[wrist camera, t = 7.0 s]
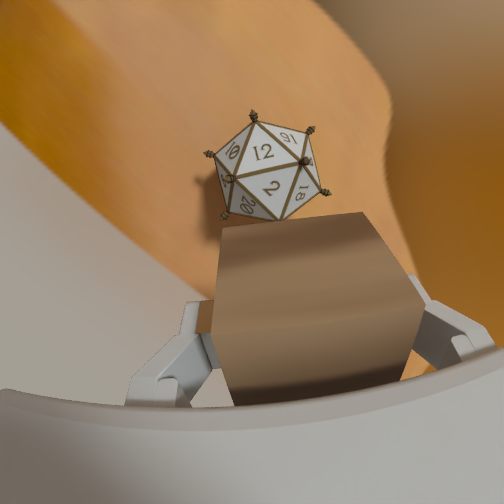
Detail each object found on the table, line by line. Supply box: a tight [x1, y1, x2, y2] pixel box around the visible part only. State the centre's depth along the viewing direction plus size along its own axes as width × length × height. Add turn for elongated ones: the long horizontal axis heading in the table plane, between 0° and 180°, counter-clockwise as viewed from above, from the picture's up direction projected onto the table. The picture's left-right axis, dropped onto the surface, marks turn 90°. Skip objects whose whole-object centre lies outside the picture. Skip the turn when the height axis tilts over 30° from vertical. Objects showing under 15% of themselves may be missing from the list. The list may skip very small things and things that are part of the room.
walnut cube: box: [211, 212, 426, 406], centre depth 10 cm, size 5×5×5 cm
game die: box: [203, 110, 332, 222], centre depth 22 cm, size 9×8×10 cm
